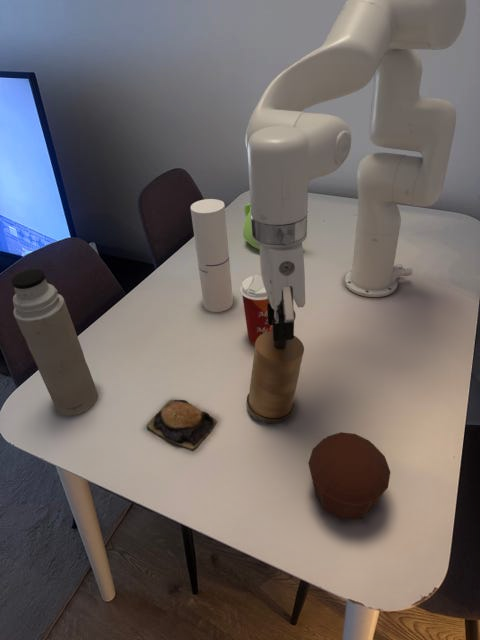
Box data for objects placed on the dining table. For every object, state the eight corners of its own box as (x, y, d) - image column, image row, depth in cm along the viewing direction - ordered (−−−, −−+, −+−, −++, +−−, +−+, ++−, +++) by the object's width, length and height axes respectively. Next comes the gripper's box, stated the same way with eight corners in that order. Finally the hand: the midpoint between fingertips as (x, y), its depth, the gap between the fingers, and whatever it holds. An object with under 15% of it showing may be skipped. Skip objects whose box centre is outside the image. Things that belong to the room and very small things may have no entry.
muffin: (302, 463, 74) (303, 422, 68) (370, 457, 74) (377, 415, 68) (316, 535, 65) (319, 494, 59) (394, 528, 65) (405, 487, 59)
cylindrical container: (229, 313, 108) (220, 213, 93) (200, 311, 109) (186, 212, 94) (235, 295, 113) (227, 199, 98) (207, 294, 115) (195, 198, 100)
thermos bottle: (51, 418, 85) (-8, 292, 68) (60, 387, 92) (8, 265, 75) (94, 413, 86) (46, 287, 69) (100, 382, 92) (58, 260, 75)
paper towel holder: (287, 387, 88) (306, 291, 75) (298, 422, 81) (320, 323, 68) (243, 389, 86) (254, 291, 74) (250, 424, 79) (263, 324, 67)
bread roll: (144, 430, 82) (139, 416, 79) (173, 399, 87) (170, 385, 85) (191, 454, 77) (188, 440, 75) (220, 420, 82) (217, 406, 80)
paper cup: (268, 353, 96) (266, 298, 87) (237, 342, 99) (232, 288, 91) (285, 332, 101) (285, 278, 92) (255, 322, 104) (252, 269, 96)
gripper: (323, 251, 56) (317, 362, 67) (292, 199, 69) (291, 299, 80) (262, 259, 56) (267, 369, 67) (242, 205, 69) (249, 305, 80)
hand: (280, 330), depth 73 cm, fingers closed on paper towel holder, 3 cm apart
